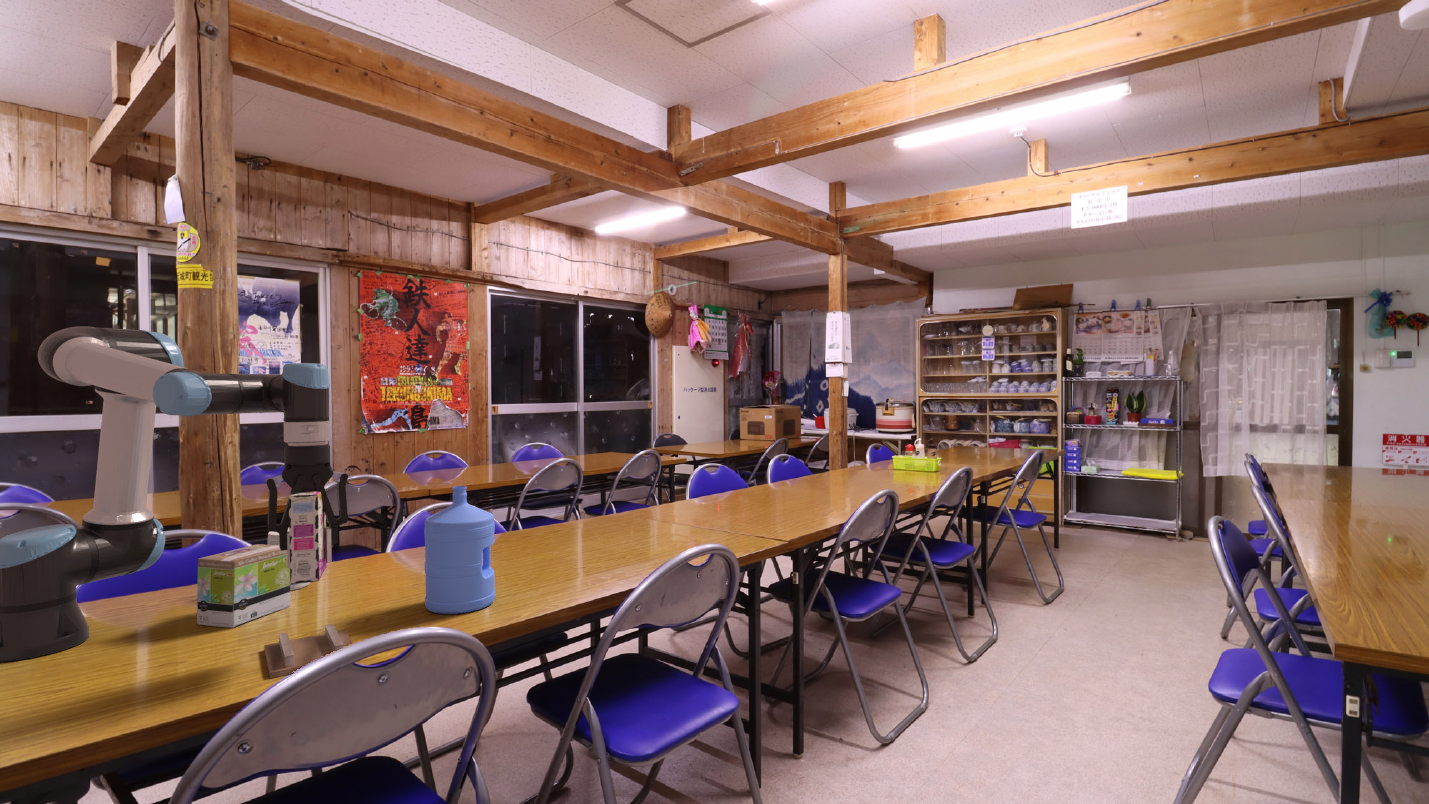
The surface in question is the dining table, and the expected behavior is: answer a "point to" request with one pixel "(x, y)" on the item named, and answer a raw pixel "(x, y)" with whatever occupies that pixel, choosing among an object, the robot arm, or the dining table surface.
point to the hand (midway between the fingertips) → (309, 563)
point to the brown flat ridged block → (302, 650)
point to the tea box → (242, 585)
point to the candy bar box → (306, 537)
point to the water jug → (459, 557)
